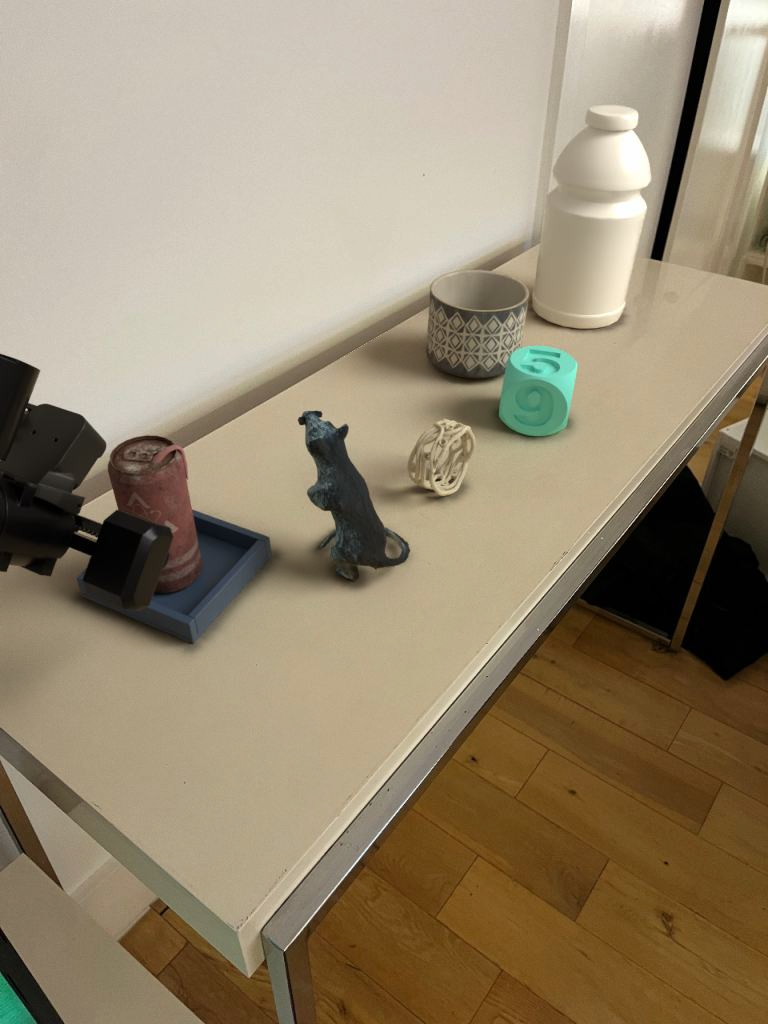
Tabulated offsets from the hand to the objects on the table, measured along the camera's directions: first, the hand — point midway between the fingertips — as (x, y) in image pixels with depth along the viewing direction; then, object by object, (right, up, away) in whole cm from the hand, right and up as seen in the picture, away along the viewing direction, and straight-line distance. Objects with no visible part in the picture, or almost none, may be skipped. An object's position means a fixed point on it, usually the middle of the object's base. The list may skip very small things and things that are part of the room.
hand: (121, 542), depth 64 cm
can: (+2, -3, +9) cm, 10 cm away
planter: (+34, +23, +42) cm, 59 cm away
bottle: (+51, +33, +55) cm, 82 cm away
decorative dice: (+40, +14, +32) cm, 53 cm away
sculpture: (+19, -2, +12) cm, 23 cm away
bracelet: (+28, +5, +21) cm, 35 cm away
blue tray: (+2, -4, +10) cm, 10 cm away
